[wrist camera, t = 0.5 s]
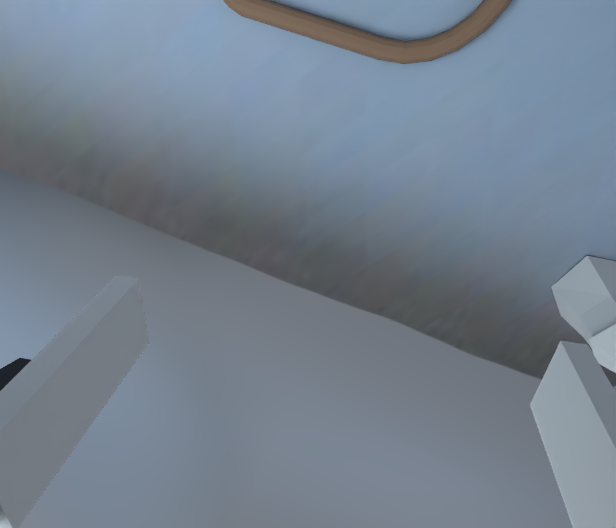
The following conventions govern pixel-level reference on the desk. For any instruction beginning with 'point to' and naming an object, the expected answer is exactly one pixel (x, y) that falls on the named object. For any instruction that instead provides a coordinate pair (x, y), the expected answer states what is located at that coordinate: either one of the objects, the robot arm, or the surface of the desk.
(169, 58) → the desk surface
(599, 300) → the figurine
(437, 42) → the brown curved horn
